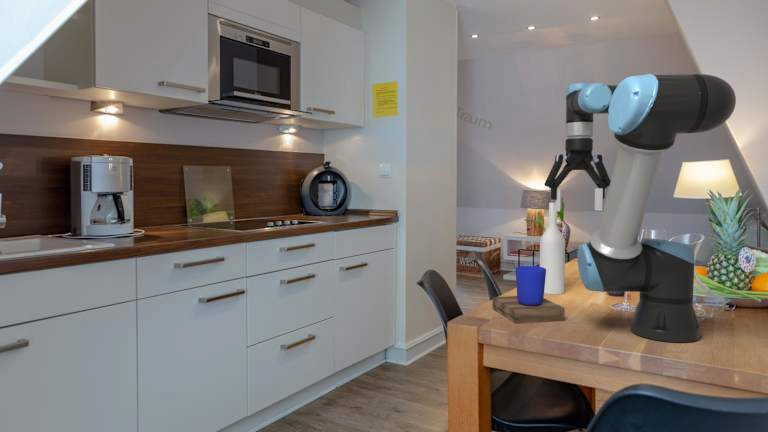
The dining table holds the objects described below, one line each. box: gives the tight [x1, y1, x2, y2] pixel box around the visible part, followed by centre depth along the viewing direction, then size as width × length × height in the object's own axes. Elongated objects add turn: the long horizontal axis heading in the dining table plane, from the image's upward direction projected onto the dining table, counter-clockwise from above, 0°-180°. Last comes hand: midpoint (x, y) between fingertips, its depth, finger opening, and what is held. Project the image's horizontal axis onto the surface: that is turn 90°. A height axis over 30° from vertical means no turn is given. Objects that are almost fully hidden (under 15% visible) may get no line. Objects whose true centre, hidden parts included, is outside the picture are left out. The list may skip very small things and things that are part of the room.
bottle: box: [538, 202, 566, 295], centre depth 181 cm, size 8×8×30 cm
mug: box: [515, 265, 546, 306], centre depth 152 cm, size 8×12×10 cm
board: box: [492, 295, 565, 324], centre depth 153 cm, size 16×14×4 cm
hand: (577, 210), depth 160 cm, fingers open, 13 cm apart
